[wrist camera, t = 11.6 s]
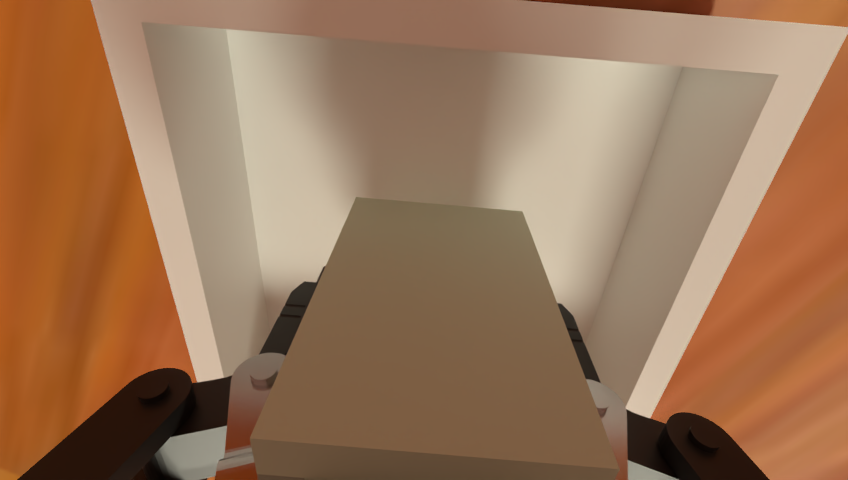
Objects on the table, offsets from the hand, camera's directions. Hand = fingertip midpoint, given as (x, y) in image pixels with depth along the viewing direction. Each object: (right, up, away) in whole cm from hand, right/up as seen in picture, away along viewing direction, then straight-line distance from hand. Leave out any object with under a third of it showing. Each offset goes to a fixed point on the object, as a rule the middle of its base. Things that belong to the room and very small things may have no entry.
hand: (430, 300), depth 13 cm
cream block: (0, +1, +1) cm, 1 cm away
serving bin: (0, +2, +4) cm, 5 cm away
